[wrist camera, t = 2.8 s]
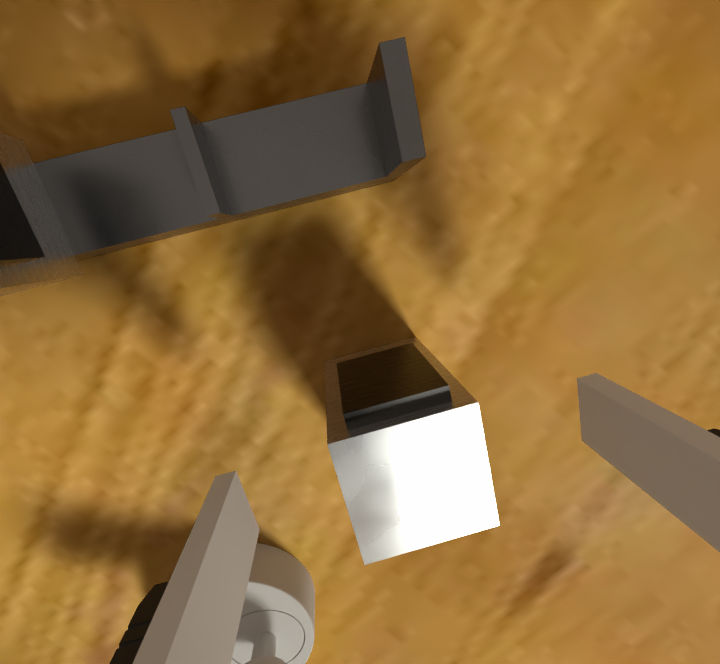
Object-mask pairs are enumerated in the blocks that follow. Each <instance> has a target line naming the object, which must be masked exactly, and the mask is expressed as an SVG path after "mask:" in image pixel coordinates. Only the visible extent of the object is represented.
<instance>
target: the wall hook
mask: <svg viewBox="0 0 720 664" xmlns="http://www.w3.org/2000/svg"><path fill="white" fill-rule="evenodd" d="M314 622H315V589H314V584H313V581H312V578H311V576H310V574H309V572H308V571H307V569H306V568H305V567H304V565H303V564H302V563H301V562H300V561H299V560H297V559H296V558H295V557H294V556H292V555H291V554H289V553H287V552H285V551H283V550H281V549H279V548H276V547H273V546H270V545H265V544H260V543H257V544H256V549H255V553H254V558H253V562H252V567H251V572H250V576H249V581H248V586H247V590H246V595H245V600H244V604H243V609H242V613H241V618H240V623H239V627H238V632H237V637H236V641H235V646H234V651H233V655H232V660H231V664H305V663H306V661H307V660H308V658H309V656H310V654H311V651H312V648H313V643H314Z"/></svg>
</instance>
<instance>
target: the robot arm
mask: <svg viewBox="0 0 720 664" xmlns="http://www.w3.org/2000/svg"><path fill="white" fill-rule="evenodd" d="M577 385H578V397H579V410H580V422H581V435H582V441H583V442H584V443H586V444H587V445H588V446H589V447H591V448H592V449H593V450H594V451H595V452H597V453H598V454H599V455H600V456H602V457H603V458H604V459H605V460H607V461H608V462H609V463H610V464H612V465H613V466H614V467H615V468H616V469H618V470H619V471H620V472H621V473H623V474H624V475H625V476H626V477H628V478H629V479H630V480H631V481H632V482H634V483H635V484H636V485H637V486H639V487H640V488H641V489H642V490H644V491H645V492H646V493H647V494H649V495H650V496H651V497H652V498H653V499H655V500H656V501H657V502H658V503H660V504H661V505H662V506H663V507H665V508H666V509H667V510H668V511H670V512H671V513H672V514H673V515H674V516H676V517H677V518H678V519H679V520H681V521H682V522H683V523H684V524H686V525H687V526H688V527H689V528H691V529H692V530H693V531H694V532H695V533H697V534H698V535H699V536H700V537H702V538H703V539H704V540H705V541H707V542H708V543H709V544H710V545H711V546H713V547H714V548H715V549H716V550H718V551H719V552H720V430H718V429H711V430H705V429H703V428H701V427H699V426H697V425H695V424H693V423H691V422H690V421H688V420H686V419H684V418H682V417H680V416H678V415H676V414H674V413H672V412H670V411H668V410H666V409H665V408H663V407H661V406H659V405H657V404H655V403H653V402H651V401H649V400H647V399H645V398H643V397H641V396H640V395H638V394H636V393H634V392H632V391H630V390H628V389H626V388H624V387H622V386H620V385H618V384H616V383H614V382H613V381H611V380H609V379H607V378H605V377H603V376H601V375H599V374H597V373H595V374H591V375H588V376H584V377H580V378H577ZM259 530H260V529H259V527H258V524H257V522H256V519H255V517H254V514H253V512H252V509H251V507H250V504H249V502H248V499H247V497H246V495H245V492H244V490H243V487H242V485H241V482H240V480H239V477H238V475H237V472H236V471H233V472H230V473H226V474H222V475H219V476H215V479H214V481H213V483H212V485H211V488H210V490H209V492H208V494H207V497H206V499H205V501H204V503H203V506H202V508H201V510H200V512H199V515H198V517H197V519H196V522H195V524H194V526H193V528H192V531H191V533H190V535H189V537H188V540H187V542H186V544H185V546H184V549H183V551H182V553H181V555H180V558H179V560H178V562H177V564H176V567H175V569H174V571H173V573H172V576H171V578H170V580H169V581H168V582H164V583H161V584H157V585H154V587H153V588H152V589H151V590H150V592H149V593H148V594H147V595H146V597H145V598H144V599H143V600H142V602H141V603H140V604H139V605H138V607H137V609H136V611H135V613H134V615H133V617H132V619H131V621H130V623H129V625H128V630H127V631H126V632H125V634H124V636H123V638H122V640H121V642H120V644H119V649H117V650H116V652H115V654H114V656H113V658H112V660H111V662H110V664H231V660H232V655H233V651H234V646H235V641H236V637H237V632H238V627H239V623H240V618H241V613H242V609H243V604H244V600H245V595H246V590H247V586H248V581H249V576H250V572H251V567H252V562H253V558H254V553H255V549H256V544H257V539H258V535H259Z"/></svg>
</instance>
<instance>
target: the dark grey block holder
mask: <svg viewBox="0 0 720 664" xmlns="http://www.w3.org/2000/svg"><path fill="white" fill-rule="evenodd" d="M170 112H171V115H172V118H173V121H174V124H175V127H176V129H174V130H170V131H166V132H162V133H158V134H153V135H149V136H145V137H141V138H137V139H133V140H129V141H124V142H120V143H116V144H112V145H108V146H104V147H99V148H95V149H91V150H87V151H83V152H79V153H74V154H70V155H66V156H62V157H58V158H54V159H49V160H45V161H41V162H37V163H33V161H32V159H31V157H30V155H29V152H28V150H27V148H26V146H25V144H24V141H23V140H21V139H18V138H15V137H12V136H9V135H6V134H3V133H0V296H3V295H7V294H11V293H15V292H18V291H22V290H26V289H30V288H34V287H38V286H42V285H46V284H50V283H54V282H58V281H62V280H66V279H70V278H74V277H78V276H82V275H84V273H83V271H82V269H81V267H80V265H79V262H78V260H82V259H86V258H90V257H94V256H98V255H102V254H106V253H110V252H114V251H118V250H121V249H125V248H129V247H133V246H137V245H141V244H145V243H149V242H153V241H157V240H161V239H165V238H169V237H173V236H177V235H181V234H185V233H189V232H193V231H197V230H201V229H205V228H209V227H213V226H217V225H221V224H225V223H229V222H233V221H237V220H241V219H245V218H248V217H252V216H256V215H260V214H264V213H268V212H272V211H276V210H280V209H284V208H288V207H292V206H296V205H300V204H304V203H308V202H312V201H316V200H320V199H324V198H328V197H332V196H336V195H340V194H344V193H348V192H352V191H356V190H360V189H364V188H368V187H372V186H376V185H379V184H383V183H387V182H391V181H394V180H395V179H397V178H398V177H399V176H401V175H402V174H403V173H405V172H406V171H407V170H409V169H410V168H411V167H413V166H414V165H415V164H417V163H418V162H419V161H421V160H422V159H423V158H425V157H426V153H425V148H424V142H423V137H422V131H421V125H420V120H419V114H418V109H417V103H416V97H415V92H414V86H413V81H412V75H411V69H410V64H409V58H408V53H407V47H406V41H405V37H402V38H398V39H394V40H390V41H385V42H381V43H379V45H378V49H377V52H376V55H375V58H374V62H373V65H372V68H371V71H370V75H369V78H368V81H367V83H366V84H361V85H357V86H353V87H349V88H345V89H341V90H337V91H332V92H328V93H324V94H320V95H316V96H312V97H307V98H303V99H299V100H295V101H291V102H287V103H282V104H278V105H274V106H270V107H266V108H262V109H257V110H253V111H249V112H245V113H241V114H237V115H233V116H228V117H224V118H220V119H216V120H212V121H208V122H203V123H201V122H200V121H199V120H198V119H197V118H196V117H195V116H194V115H193V114H192V113H191V112H190V111H189V110H188V109H187V108H186V107H185V106H184V107H180V108H176V109H171V110H170Z"/></svg>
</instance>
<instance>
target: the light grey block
mask: <svg viewBox="0 0 720 664" xmlns="http://www.w3.org/2000/svg"><path fill="white" fill-rule="evenodd" d="M324 363H325V390H326V418H327V445H328V448H329V451H330V454H331V457H332V461H333V464H334V467H335V470H336V474H337V477H338V480H339V483H340V487H341V490H342V493H343V496H344V499H345V503H346V506H347V509H348V512H349V516H350V519H351V522H352V525H353V529H354V532H355V535H356V538H357V542H358V545H359V548H360V551H361V554H362V558H363V561H364V564H365V565H366V564H369V563H373V562H376V561H380V560H383V559H387V558H390V557H393V556H397V555H400V554H404V553H407V552H410V551H414V550H417V549H421V548H424V547H427V546H431V545H434V544H438V543H441V542H444V541H448V540H451V539H455V538H458V537H462V536H465V535H468V534H472V533H475V532H479V531H482V530H485V529H489V528H492V527H496V526H499V519H498V513H497V508H496V502H495V496H494V490H493V484H492V479H491V473H490V467H489V461H488V455H487V449H486V444H485V438H484V432H483V426H482V420H481V414H480V409H479V403H478V401H477V400H476V399H475V398H474V397H473V396H472V395H471V394H470V393H469V392H468V391H467V390H466V389H465V388H464V387H463V386H462V385H461V384H460V383H459V381H458V380H457V379H456V378H455V377H454V376H453V375H452V374H451V373H450V372H449V371H448V370H447V369H446V368H445V367H444V366H443V365H442V364H441V363H440V362H439V361H438V360H437V359H436V357H435V356H434V355H433V354H432V353H431V352H430V351H429V350H428V349H427V348H426V347H425V346H424V345H423V344H422V343H421V342H420V341H419V340H418V339H417V338H416V337H412V338H409V339H405V340H401V341H398V342H394V343H390V344H387V345H383V346H379V347H375V348H372V349H368V350H364V351H361V352H357V353H353V354H349V355H346V356H342V357H338V358H335V359H331V360H327V361H324Z"/></svg>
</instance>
